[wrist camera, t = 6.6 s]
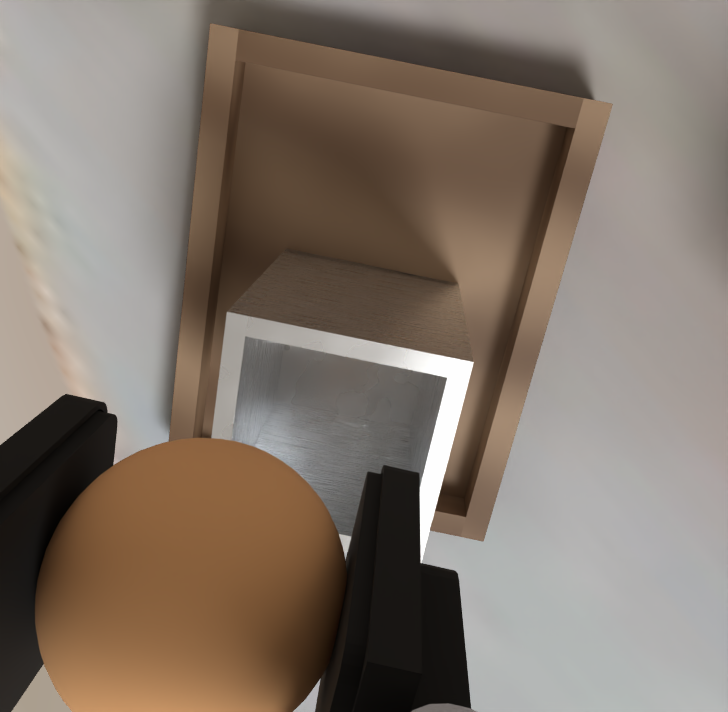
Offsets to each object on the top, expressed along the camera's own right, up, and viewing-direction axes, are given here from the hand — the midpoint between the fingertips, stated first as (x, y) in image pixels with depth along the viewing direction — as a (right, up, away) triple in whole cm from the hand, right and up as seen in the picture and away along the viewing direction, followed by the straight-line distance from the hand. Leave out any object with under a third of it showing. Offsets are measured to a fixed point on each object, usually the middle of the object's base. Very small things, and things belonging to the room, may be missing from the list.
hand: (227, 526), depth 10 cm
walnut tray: (+2, +5, +19) cm, 20 cm away
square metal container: (+2, +3, +19) cm, 19 cm away
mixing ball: (0, 0, 0) cm, 0 cm away
